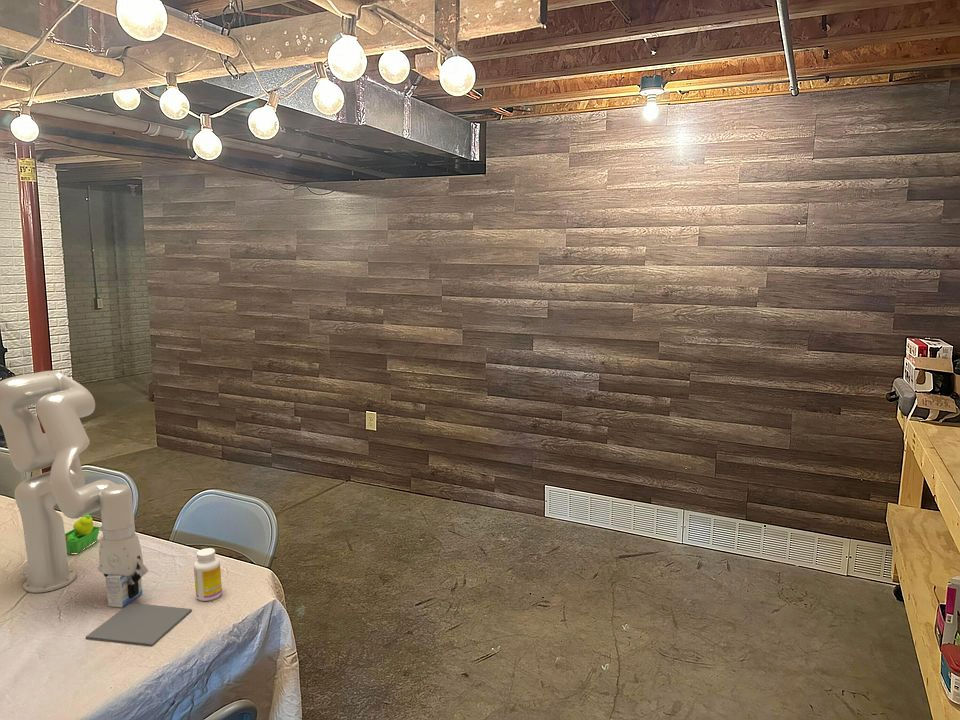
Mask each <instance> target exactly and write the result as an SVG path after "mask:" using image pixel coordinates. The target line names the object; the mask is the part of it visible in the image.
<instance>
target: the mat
mask: <svg viewBox="0 0 960 720" xmlns="http://www.w3.org/2000/svg"><path fill="white" fill-rule="evenodd" d="M192 611H193V608H187V607H176V606H166V605H155V604H145V603H137V602H130V603H129V604H127V605H126V606H125V607H123V608H122V609H120V610H119V611H118V612H116V613H115V614H114V615H112V616H111V617H109V619H107V620H106V621H105V622H103V623H101V624H100V625H99V626H98V627H96V628H95V629H93V630H92V631H91V632H90V633H88V634H87V635H85V640H93V641H101V642H110V643H119V644H126V645H136V646H139V645H140V646H147V647H154V645H156V644H157V643H158V642H159V641H160V640H161V639H162V638H163V637H164V636H166V635H167V634H168V633H169V632H170V631H171V630H172V629H173V628H175V627H176V626H177V625H178V624H179V623H180V622H182V621H183V619H185V618H186V617H187V616H188V615H189V614H191V612H192Z"/></svg>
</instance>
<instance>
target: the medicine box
mask: <svg viewBox="0 0 960 720" xmlns="http://www.w3.org/2000/svg"><path fill="white" fill-rule="evenodd" d="M137 570H138V569H137ZM138 573H139V570H138ZM133 578H134V574H133ZM129 584H130V583H129V580H128V577H127V576H122V575H108V576H107V577H105V585H106V593H107V602H108V603H107V605H108V607H112V608H122V609H123V608H124V607H126V606H127V605H128V604H130V603H132V602H133V601H134V600H135V599H136V598H138V597H140V596H141V595H142V594H143V585H142V577H141V578H140V580H139V581H138V586H139V593H138V594H137V595H136V596H135V597H133V598H132V599H130V598H129V594H128V585H129Z"/></svg>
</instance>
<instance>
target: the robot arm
mask: <svg viewBox="0 0 960 720" xmlns="http://www.w3.org/2000/svg"><path fill="white" fill-rule="evenodd" d="M34 405H35V406H34ZM29 406H34V407H35V408H34V410H35V412H36V414H34V413H33V412H32V411H31V410H30V409H28V407H29ZM95 409H96V400H95V398H94V396H93V394H92V393H91V392H90V391H89V390H88V389H87V387H85V386H83V385H82V384H80V382H77V381H76V380H74V379H72V378H71V377H69V376H67V375H66V374H64V373H62V372H61V371H58V370H44V371H39V372H32V373H27V374H22V375H21V374H20V375H15V376H12V377H8V378H5V379H2V380H0V426H1V428H2V431H3V434H4V439H5V442H6V447H7V449H8V450H7V451H8V453H9V457H10V459H11V462H12V465H13V467H14V469H15V470H16V471H17V472H19V473H23V474H25V473H26V474H28V473H32V472H36V471H39V470H42V469H45V468H49V467H51V468H50V470H49V471H47V472H46V471H45V472H43V473H39V474H37V475H34V476H31V477H29V478H26V479H24V480H22V481H21V482H20V483H19V484H18V485H17V486H16V487H15V489H14V500H15V502H16V506H17V508H18V511H19V514H20V518H21V522H22V530H23V537H24V544H25V552H26V561H27V564H24V565H23V566H22V568H21V570H20V571H19V573H18V574H19V576H26V577H25V578H26V580H25V581H24V583H23V590H24V591H26V592H28V593H39V594H40V593H48V592H51V591H54V590H58V589H61V588H64V587H66V586H68V585H69V584H71V583H72V582H74V581H75V580H76V578H77V573H76V570H74V569H72V568H69V567H70V566H69V557H68V554H67V548H66V539H65V534H66V531H65V523H64V519H63V516H61V514H60V513H59V512H58V511H56V510H55V508H54V506H56V505H57V507H58V509H59V510H60V512H61V513H62V514H63V515H64V516H66V517H67V518H69V519H72V520H73V519H80V518H82V517H83V516H85V515H88V514H89V515H91V514H92V513H94V512H97V511H100V519H101V526H99V527H100V530H99V532H100V531H101V532H102V536H101V538H100V542H99V547H98V564H99V566H98V567H97V570H98V571H99V572H100V573H101V574H103V576H104V577H105V578H106V577H107V576H108V575H122V576H127V577H128V580H129V583H130V584H129V585H128V594H129V598H130V599H132V598H133V597H135V596H136V595H137V594H138V593H139V586H138V581H139V580H140V578H141V579H142V577H144V576H145V575H146V574H148V573H149V570H148V568H147V566H145V564H144V558H143V557H144V556H143V552H142V547H141V542H140V539H139V536H138V534H137V533H136V526H135V515H134V505H133V495H132V493H133V492H132V490H131V487H130V486H129V485H127V484H117V483H116V482H114V481H112V480H110V479H105V478H104V479H98V480H95V481H92V482H90V483H87V484H85V483H86V481H85V476H84V472H83V468H82V464H81V460H80V457H79V455H80V454H81V453H82V452H83V451H85V450H86V449H88V446H90V443H91V442H90V438H89V437H88V434H87V432H86V430H85V428H84V425H83V423H82V421H81V418H84V417H88V416H90V415H92V414H93V412H94V411H95ZM36 415H37V416H36ZM41 426H42V428H43V430H42V428H41ZM43 431H44V433H43ZM137 569H138V570H139V573H138V570H137ZM133 574H134V578H133Z"/></svg>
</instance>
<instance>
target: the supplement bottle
mask: <svg viewBox="0 0 960 720" xmlns="http://www.w3.org/2000/svg"><path fill="white" fill-rule="evenodd" d="M196 558H197V560H196V561H195V562H194V564H193V573H194V576H193V577H194V585H195V586H194V587H195V596H196V599H197V600H198V601H201V602H207V601H213V600H216V599H217V598H219V597H220V596H221V595H222V594H223V587H222V586H223V585H222V573H221V563H220V560H219V558H218V557H216V550H215V549H214V548H211V547H209V548H202V549H199V550H198V551H197V552H196Z"/></svg>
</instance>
